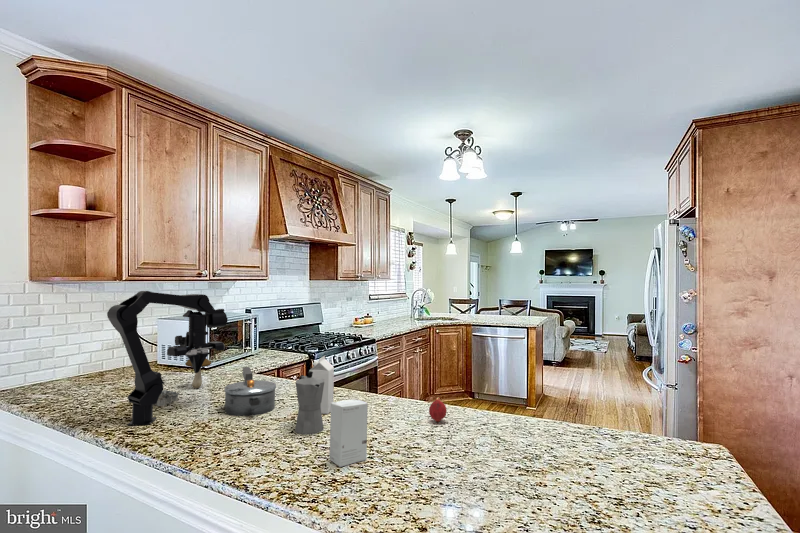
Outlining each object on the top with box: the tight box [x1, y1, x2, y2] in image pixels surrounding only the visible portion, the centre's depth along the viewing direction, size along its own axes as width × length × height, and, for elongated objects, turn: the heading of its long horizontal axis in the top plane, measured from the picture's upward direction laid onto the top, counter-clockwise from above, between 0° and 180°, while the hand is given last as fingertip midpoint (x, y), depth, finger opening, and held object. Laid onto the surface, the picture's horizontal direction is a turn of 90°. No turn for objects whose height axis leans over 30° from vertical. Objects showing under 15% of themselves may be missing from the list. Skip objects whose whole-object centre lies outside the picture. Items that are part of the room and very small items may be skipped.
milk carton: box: [308, 355, 335, 415], centre depth 155 cm, size 7×7×19 cm
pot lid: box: [224, 366, 277, 395], centre depth 163 cm, size 30×18×4 cm, turn 24°
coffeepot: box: [294, 370, 324, 435], centre depth 137 cm, size 15×9×18 cm, turn 33°
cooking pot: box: [224, 389, 276, 417], centre depth 157 cm, size 25×17×7 cm
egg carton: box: [153, 389, 181, 407], centre depth 165 cm, size 11×8×4 cm
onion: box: [428, 397, 447, 423], centre depth 144 cm, size 6×6×8 cm
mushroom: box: [184, 357, 212, 389], centre depth 186 cm, size 9×11×15 cm
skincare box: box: [329, 398, 369, 468], centre depth 113 cm, size 8×6×15 cm
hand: (196, 372), depth 156 cm, fingers closed
